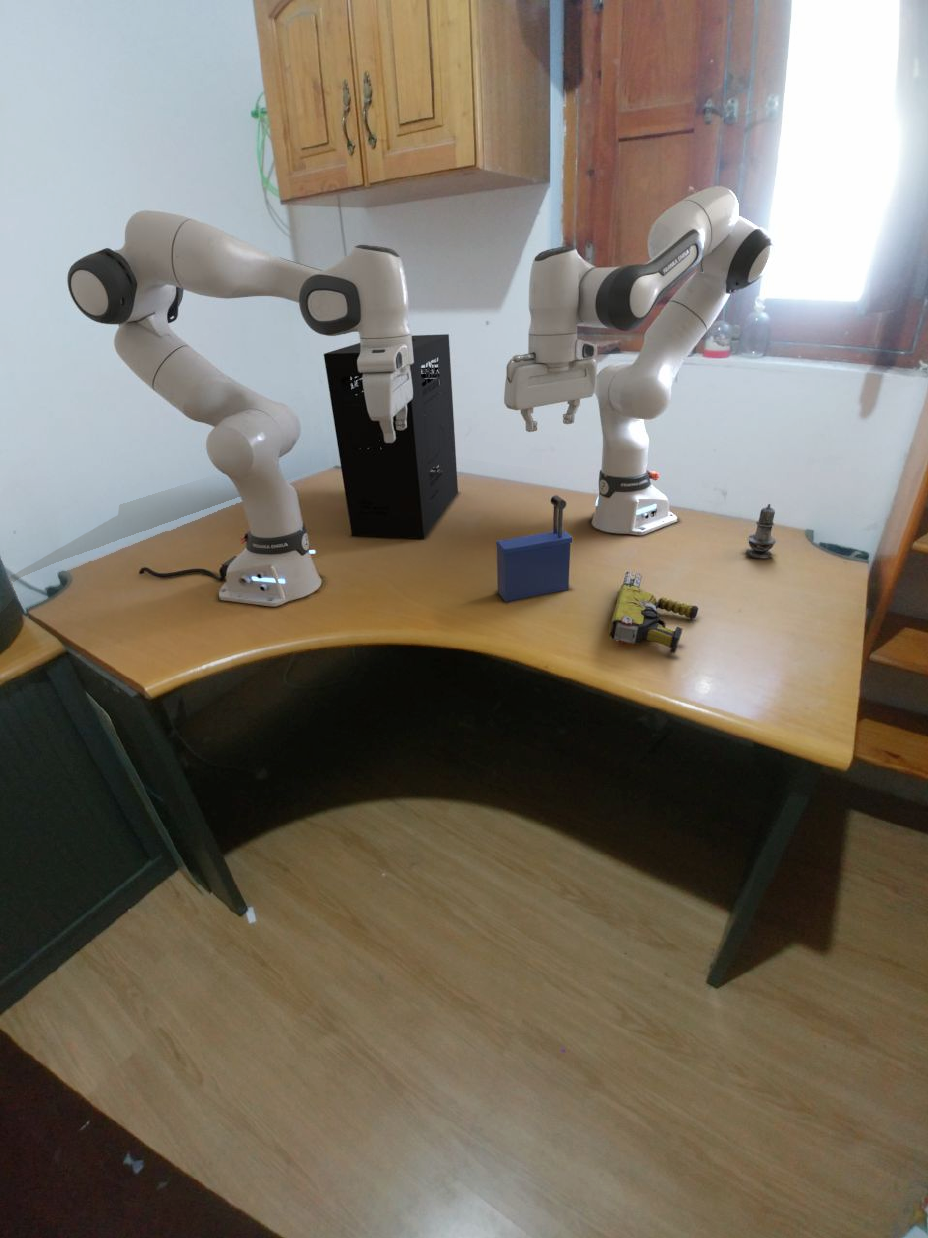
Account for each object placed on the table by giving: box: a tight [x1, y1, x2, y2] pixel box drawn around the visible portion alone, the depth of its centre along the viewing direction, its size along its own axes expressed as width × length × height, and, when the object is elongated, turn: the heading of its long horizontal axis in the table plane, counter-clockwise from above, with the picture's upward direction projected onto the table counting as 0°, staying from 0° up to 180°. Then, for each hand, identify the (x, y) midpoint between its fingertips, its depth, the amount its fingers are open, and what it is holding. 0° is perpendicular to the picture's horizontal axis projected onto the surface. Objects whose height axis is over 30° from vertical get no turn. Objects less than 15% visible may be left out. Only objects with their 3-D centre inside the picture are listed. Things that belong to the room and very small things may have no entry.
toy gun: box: [608, 570, 699, 654], centre depth 115 cm, size 5×24×15 cm
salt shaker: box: [746, 503, 777, 559], centre depth 136 cm, size 6×6×12 cm
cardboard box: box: [323, 333, 459, 540], centre depth 164 cm, size 38×20×45 cm, turn 167°
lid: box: [495, 494, 574, 555], centre depth 122 cm, size 15×5×9 cm, turn 108°
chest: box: [496, 543, 571, 603], centre depth 126 cm, size 14×5×11 cm, turn 108°
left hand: (396, 435), depth 111 cm, fingers open, 8 cm apart
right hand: (550, 427), depth 118 cm, fingers open, 8 cm apart
